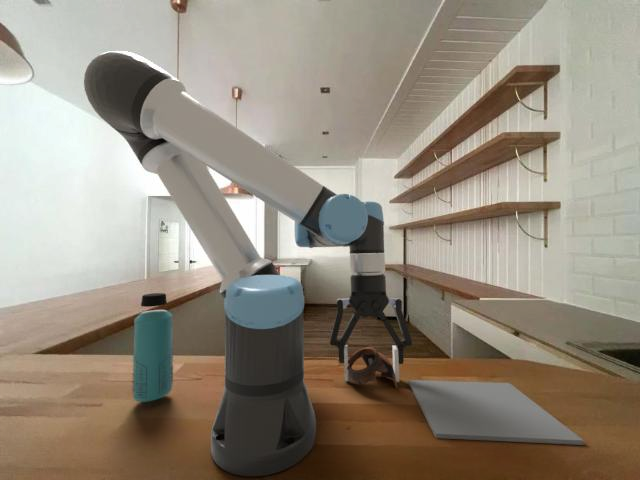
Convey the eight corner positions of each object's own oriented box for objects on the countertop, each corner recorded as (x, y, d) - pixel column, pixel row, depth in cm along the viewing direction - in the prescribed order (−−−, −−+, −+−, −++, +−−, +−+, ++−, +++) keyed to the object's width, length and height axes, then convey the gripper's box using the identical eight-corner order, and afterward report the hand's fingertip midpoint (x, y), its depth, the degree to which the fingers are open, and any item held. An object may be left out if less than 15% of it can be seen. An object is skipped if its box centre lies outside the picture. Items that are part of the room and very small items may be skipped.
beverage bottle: (177, 400, 50) (179, 292, 52) (136, 416, 46) (139, 297, 47) (166, 389, 55) (168, 290, 56) (126, 402, 50) (129, 293, 51)
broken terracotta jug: (405, 398, 51) (386, 363, 50) (361, 416, 53) (341, 383, 52) (392, 358, 63) (376, 329, 62) (356, 374, 65) (340, 346, 63)
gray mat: (435, 437, 39) (435, 433, 39) (408, 383, 56) (408, 380, 56) (583, 444, 38) (583, 440, 38) (509, 386, 54) (509, 383, 54)
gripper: (415, 271, 62) (420, 371, 60) (318, 273, 64) (320, 370, 62) (425, 273, 54) (431, 388, 53) (314, 275, 56) (317, 385, 55)
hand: (371, 378), depth 57 cm, fingers closed on broken terracotta jug, 10 cm apart
